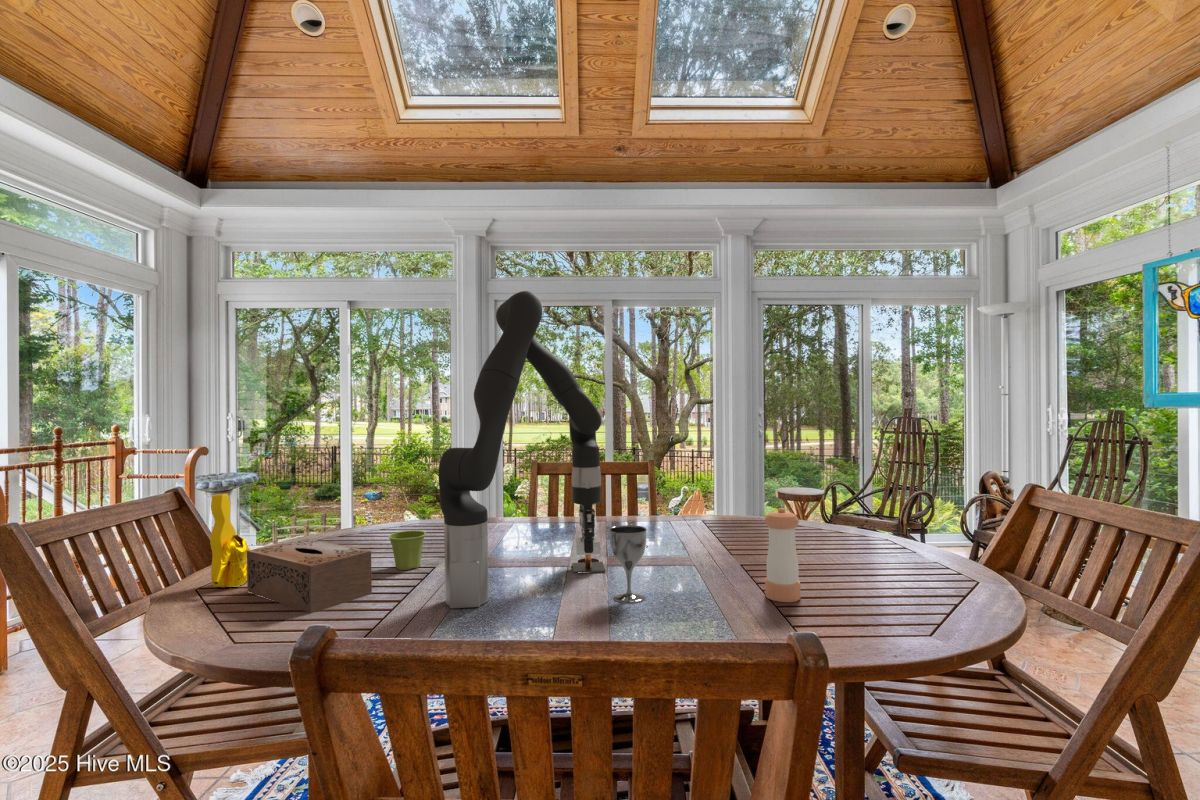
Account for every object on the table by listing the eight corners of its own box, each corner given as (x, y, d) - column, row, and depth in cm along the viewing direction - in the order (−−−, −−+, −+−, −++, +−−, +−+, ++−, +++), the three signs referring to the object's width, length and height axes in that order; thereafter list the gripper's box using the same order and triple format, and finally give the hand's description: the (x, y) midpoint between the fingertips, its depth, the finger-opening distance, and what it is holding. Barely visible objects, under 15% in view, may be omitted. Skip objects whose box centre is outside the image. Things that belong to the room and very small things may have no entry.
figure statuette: (225, 597, 136) (223, 499, 136) (189, 597, 136) (188, 500, 136) (266, 574, 154) (265, 488, 154) (235, 575, 154) (234, 489, 154)
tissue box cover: (371, 595, 137) (371, 551, 137) (311, 614, 124) (310, 566, 124) (307, 578, 151) (306, 538, 151) (247, 594, 139) (246, 550, 139)
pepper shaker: (758, 593, 132) (757, 506, 132) (785, 589, 135) (784, 504, 135) (779, 604, 125) (778, 512, 125) (807, 599, 128) (806, 509, 128)
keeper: (605, 572, 150) (605, 550, 150) (573, 573, 149) (573, 551, 149) (602, 563, 158) (602, 542, 158) (572, 565, 157) (571, 543, 157)
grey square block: (600, 554, 151) (600, 542, 151) (576, 555, 151) (576, 543, 151) (597, 548, 157) (597, 536, 157) (575, 549, 157) (574, 537, 157)
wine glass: (617, 605, 126) (615, 534, 126) (606, 594, 133) (605, 526, 133) (652, 601, 128) (651, 531, 128) (640, 590, 136) (639, 524, 136)
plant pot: (420, 572, 153) (419, 538, 153) (383, 572, 154) (382, 538, 154) (431, 562, 163) (430, 530, 163) (396, 562, 163) (396, 530, 163)
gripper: (570, 480, 161) (571, 543, 161) (573, 488, 146) (574, 557, 147) (598, 479, 162) (599, 542, 162) (604, 487, 147) (605, 556, 147)
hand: (587, 549), depth 154 cm, fingers closed on grey square block, 6 cm apart
